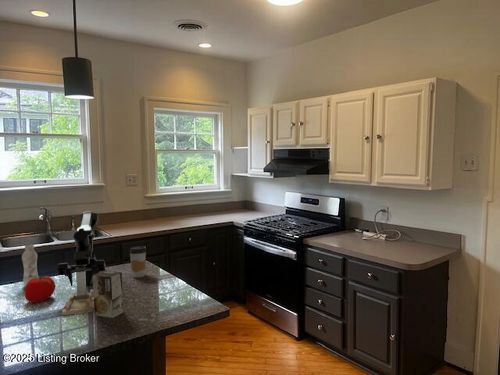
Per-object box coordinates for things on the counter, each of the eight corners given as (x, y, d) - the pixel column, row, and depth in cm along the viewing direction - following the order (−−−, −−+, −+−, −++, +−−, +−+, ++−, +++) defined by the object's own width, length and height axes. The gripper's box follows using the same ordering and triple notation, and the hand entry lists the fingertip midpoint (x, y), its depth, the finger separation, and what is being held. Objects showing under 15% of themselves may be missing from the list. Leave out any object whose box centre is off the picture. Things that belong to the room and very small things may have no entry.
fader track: (69, 298, 159) (69, 291, 159) (97, 295, 162) (96, 288, 162) (61, 315, 141) (61, 307, 141) (92, 311, 144) (92, 304, 144)
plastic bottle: (41, 284, 178) (40, 244, 177) (27, 288, 172) (25, 247, 171) (35, 282, 181) (33, 243, 180) (20, 286, 176) (18, 245, 174)
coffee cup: (149, 273, 194) (148, 246, 194) (143, 278, 186) (142, 249, 185) (134, 273, 195) (133, 245, 194) (127, 278, 187) (126, 249, 186)
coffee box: (124, 312, 144) (122, 271, 143) (113, 318, 137) (111, 276, 136) (105, 309, 146) (103, 270, 146) (93, 315, 140) (92, 274, 139)
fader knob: (75, 296, 156) (74, 266, 156) (88, 295, 158) (87, 265, 157) (74, 299, 153) (73, 269, 152) (87, 298, 154) (86, 268, 154)
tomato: (17, 303, 154) (16, 280, 153) (43, 293, 165) (42, 271, 165) (37, 307, 150) (35, 282, 149) (62, 296, 162) (61, 274, 161)
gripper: (57, 245, 155) (52, 278, 145) (104, 241, 161) (103, 273, 151) (61, 258, 163) (57, 291, 153) (105, 255, 169) (105, 286, 159)
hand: (80, 285), depth 154 cm, fingers open, 7 cm apart
